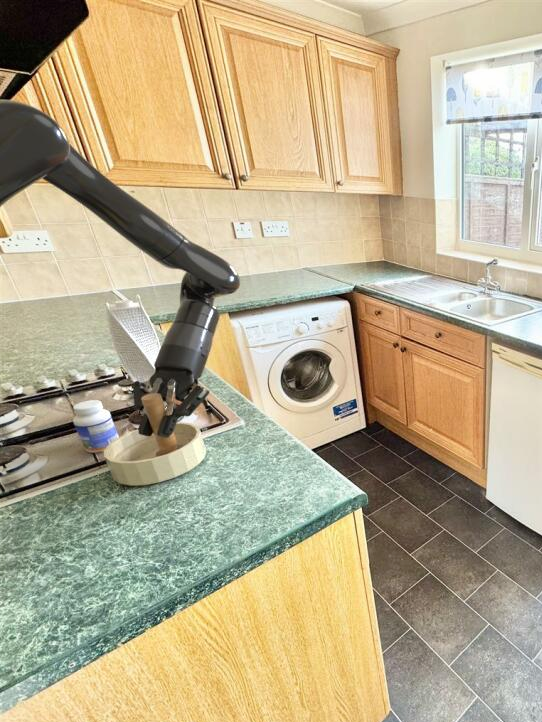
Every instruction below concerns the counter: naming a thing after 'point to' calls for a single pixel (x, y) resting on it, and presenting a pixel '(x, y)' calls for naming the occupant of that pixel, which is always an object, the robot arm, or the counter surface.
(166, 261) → the robot arm
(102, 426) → the pill bottle
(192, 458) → the bowl
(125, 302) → the skyscraper
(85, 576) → the counter surface
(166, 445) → the tan cylinder
